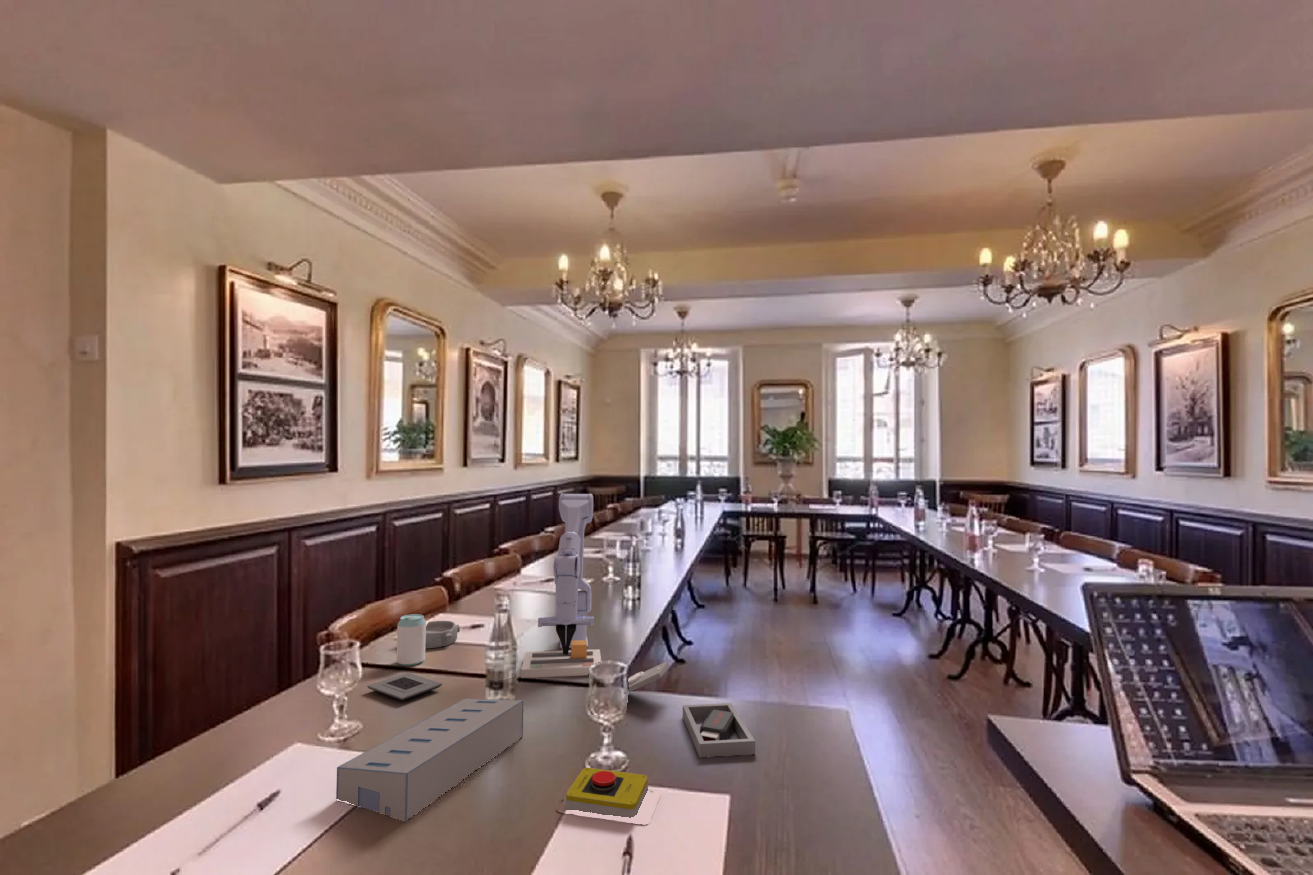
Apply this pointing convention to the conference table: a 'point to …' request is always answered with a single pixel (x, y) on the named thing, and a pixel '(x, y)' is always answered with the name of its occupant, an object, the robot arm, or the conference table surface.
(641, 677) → the light switch
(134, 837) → the conference table surface
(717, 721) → the usb drive
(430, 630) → the dish
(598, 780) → the emergency button
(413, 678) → the electrical outlet
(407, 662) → the can
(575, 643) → the orange cube
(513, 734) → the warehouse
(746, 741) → the desk tray
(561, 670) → the plate
